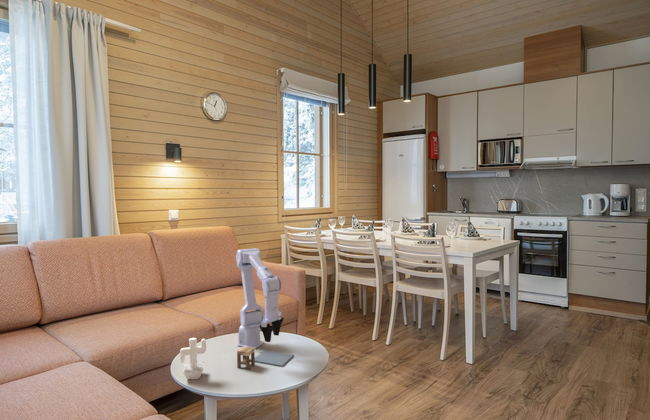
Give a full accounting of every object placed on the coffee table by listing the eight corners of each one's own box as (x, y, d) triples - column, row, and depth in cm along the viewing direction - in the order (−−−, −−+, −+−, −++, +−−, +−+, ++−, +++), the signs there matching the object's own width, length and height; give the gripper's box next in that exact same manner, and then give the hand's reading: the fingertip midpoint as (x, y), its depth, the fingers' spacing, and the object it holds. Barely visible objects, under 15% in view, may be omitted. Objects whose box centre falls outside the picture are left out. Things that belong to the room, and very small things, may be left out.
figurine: (181, 373, 163) (180, 336, 161) (206, 370, 165) (205, 333, 164) (180, 382, 156) (178, 343, 154) (206, 379, 158) (205, 340, 157)
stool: (237, 367, 168) (237, 350, 167) (244, 362, 172) (243, 346, 172) (248, 369, 166) (247, 352, 166) (254, 364, 171) (254, 347, 170)
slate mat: (251, 361, 173) (251, 360, 173) (264, 351, 184) (264, 350, 184) (282, 366, 168) (282, 365, 168) (293, 356, 179) (293, 354, 179)
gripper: (272, 312, 164) (272, 346, 165) (288, 302, 178) (288, 333, 179) (256, 310, 167) (256, 343, 168) (273, 300, 180) (273, 331, 181)
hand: (272, 338), depth 173 cm, fingers open, 7 cm apart
